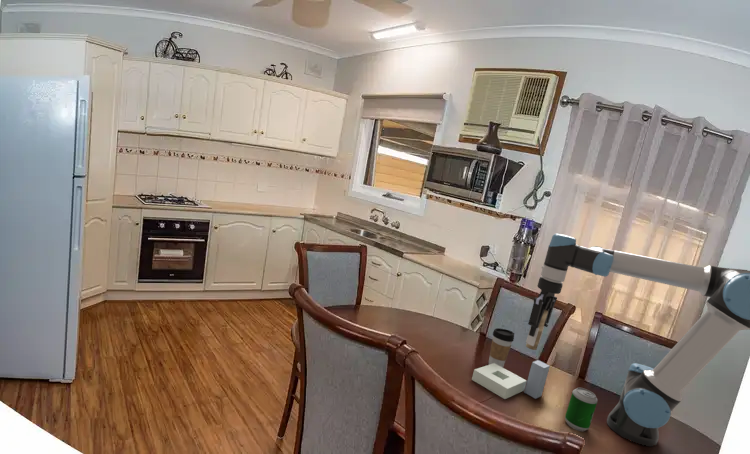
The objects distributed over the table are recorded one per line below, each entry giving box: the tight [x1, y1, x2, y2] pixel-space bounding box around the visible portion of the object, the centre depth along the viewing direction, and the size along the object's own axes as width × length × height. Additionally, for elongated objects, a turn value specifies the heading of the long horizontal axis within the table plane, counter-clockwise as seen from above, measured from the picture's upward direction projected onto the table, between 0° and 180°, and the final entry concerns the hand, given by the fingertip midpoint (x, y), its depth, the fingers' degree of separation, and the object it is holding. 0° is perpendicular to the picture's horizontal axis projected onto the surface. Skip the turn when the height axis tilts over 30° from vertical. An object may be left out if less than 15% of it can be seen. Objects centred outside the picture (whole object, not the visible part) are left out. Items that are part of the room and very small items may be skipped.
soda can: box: [564, 387, 599, 432], centre depth 143 cm, size 8×8×12 cm
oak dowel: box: [525, 310, 548, 351], centre depth 149 cm, size 4×4×14 cm
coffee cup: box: [488, 327, 515, 368], centre depth 177 cm, size 8×8×15 cm
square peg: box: [523, 359, 551, 400], centre depth 159 cm, size 5×5×12 cm
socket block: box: [471, 363, 528, 400], centre depth 161 cm, size 14×14×4 cm
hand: (532, 343), depth 150 cm, fingers closed on oak dowel, 3 cm apart
